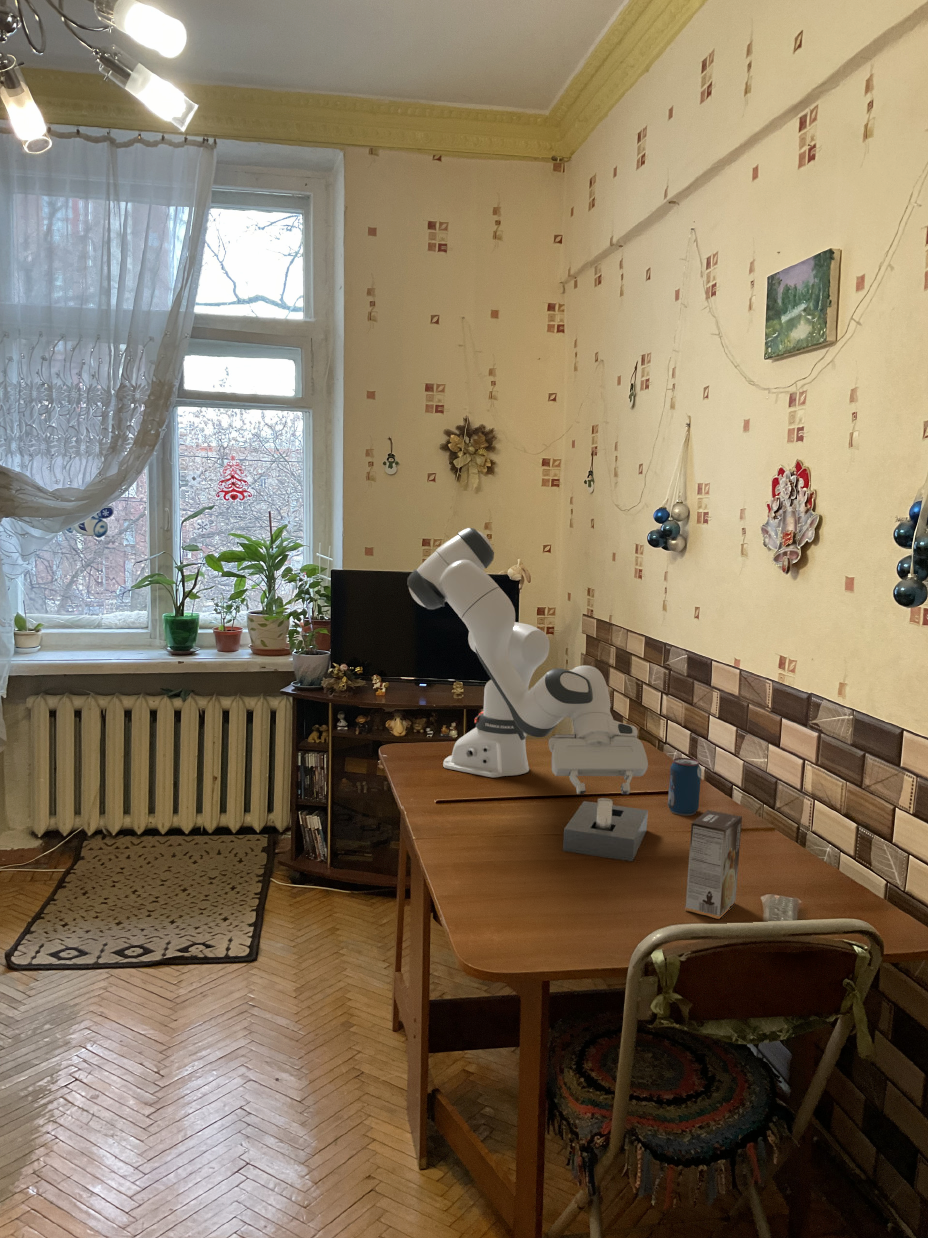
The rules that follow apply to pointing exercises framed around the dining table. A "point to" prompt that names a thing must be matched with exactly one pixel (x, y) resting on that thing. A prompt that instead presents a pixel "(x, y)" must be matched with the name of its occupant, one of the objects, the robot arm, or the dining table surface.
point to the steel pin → (604, 814)
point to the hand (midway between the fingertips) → (603, 792)
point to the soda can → (684, 786)
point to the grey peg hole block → (606, 832)
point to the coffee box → (713, 862)
